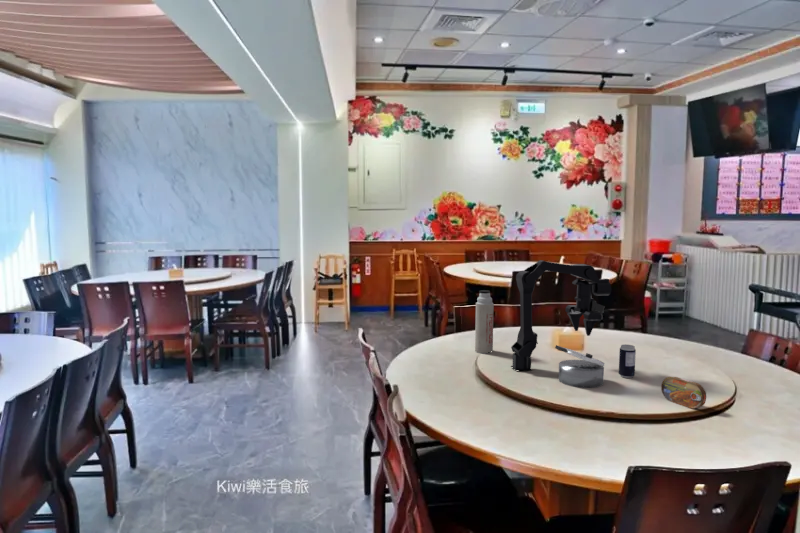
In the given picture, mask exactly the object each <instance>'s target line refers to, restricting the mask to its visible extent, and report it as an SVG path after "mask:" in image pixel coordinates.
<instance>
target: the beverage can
mask: <svg viewBox="0 0 800 533" xmlns="http://www.w3.org/2000/svg"><path fill="white" fill-rule="evenodd" d="M636 354H637V353H636V348H635V346H634V345H633V344H621V345H620V347H619V356H618V357H619V359H618V360H619V361H618V375H620V377H622V378H625V379H632V378H633V377H634V376H635V374H636V372H635V371H636Z"/></svg>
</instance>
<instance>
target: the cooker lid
mask: <svg viewBox="0 0 800 533" xmlns="http://www.w3.org/2000/svg"><path fill="white" fill-rule="evenodd" d="M554 349H556V350H558V351H561V352H564V353H566V354H568V355H571V356H573V357H574V358H578V359H579V360H585V361H588V362H590V363H593V364H596V365H600V366H603V367H604V366H605V362H603V361H601V360H599V359H598V358H597V359H596V358H594V357H593V356H594V355H593V354H590V353H588V352H587V353H586V354H584V353H582V352H579V351H576V350H573V349H570V348H566V347H563V346H560V345H557V344H555V346H554Z"/></svg>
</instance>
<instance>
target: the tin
mask: <svg viewBox="0 0 800 533" xmlns="http://www.w3.org/2000/svg"><path fill="white" fill-rule="evenodd" d="M660 388H661V393H662V395H663V397H664V398H665V399H666V400H667V401H669V402H671V403H674V404H676V405H679V406H682V407H685V408H687V409H688V408H689V409H693V410H694V409H698V408H701V407H703V406H704V405H705V403H706V402H707V392H706V390H705V388H704V386H702V385H701V384H699V383H698V382H696V381H693V380H692V381H691V380H688V379H685V378H681V377H678V376H667V377H665V378H664V379H663V380H662V382H661V385H660Z"/></svg>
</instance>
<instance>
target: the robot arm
mask: <svg viewBox="0 0 800 533" xmlns="http://www.w3.org/2000/svg"><path fill="white" fill-rule="evenodd" d="M545 272H551V273H557V274H558V273H559V274H566V275H571V276H573V277H576V279H574V280H573V281H572V283H571V284H573V285H576V286H577V288H576V296H574V301H576V302H575V303H576V304H573V305H572V304H571V305H570V304H568V305H566V306H565V312H566V314H567V316H568V318H569V320H570V322H571V324H572V326H573V327H572V328H573V329H574V331H575V332H578V331H579V327H580V319H581V318H582V316H583V319H582V320H583V324H584V330H585V333H586V336H588V337H589V336H591V334H592V333H593V332H592V331H593V329H594V326H595V325H596V323H599V322H600V321H601V320H603V312H604V309H605V307H606V306H605V305H602V304H599V303H597V301H596V300H595V299H594V298H592V297H593V296H592V294H593V295H594V296H610V295H611V293H612V284H611V282H610V279H609V278H599V277H598V275H597V273H596V270H595V267H594V266H593V265H589V264H584V263H576V264H565V263H558V262H552V261H545V260H538V261H536V262H534V264H532V265H530V266H528V267H527V268H525V269H524V270H520V271H519V272H518V273H516V276H515V279H516V286H517V289H518V291H519V294H520V295H519V303H520V305H519V307H520V308H519V309H520V310H519V311H520V312H519V313H520V315H519V316H520V317H519V318H520V329H519V330H518V334H517V338H516V342H514V344H513V345H511V347H510V348H511V352H512V365H511V366H510V368H511V367H513V368H514V369H515V370H514V369H513V368H512V369H513V370H514V371H516V370H531V371H533V368H532V354H533V351H534V350H535V349H536V348H537V345H538V344H539V342H538V333H537V332H534V330H533V305H532V303H533V298H532V297H533V292H534V290H535V286H536V281H537V280H539V278H540V277H541V276H542V275H543V274H544V273H545ZM581 279H583V280H581Z"/></svg>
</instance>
